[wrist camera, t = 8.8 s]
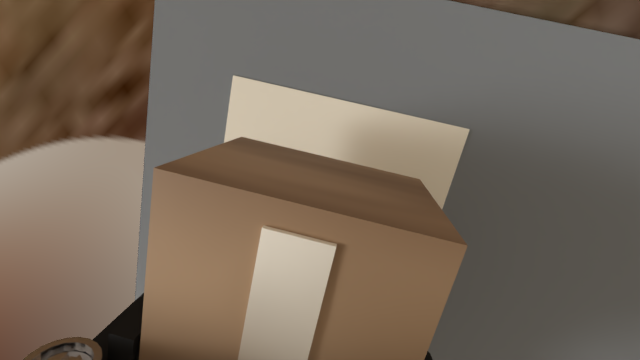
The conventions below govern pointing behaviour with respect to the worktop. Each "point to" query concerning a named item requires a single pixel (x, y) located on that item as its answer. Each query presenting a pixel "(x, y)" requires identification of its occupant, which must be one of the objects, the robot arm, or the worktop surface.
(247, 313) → the block
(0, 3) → the worktop surface
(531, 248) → the mat
